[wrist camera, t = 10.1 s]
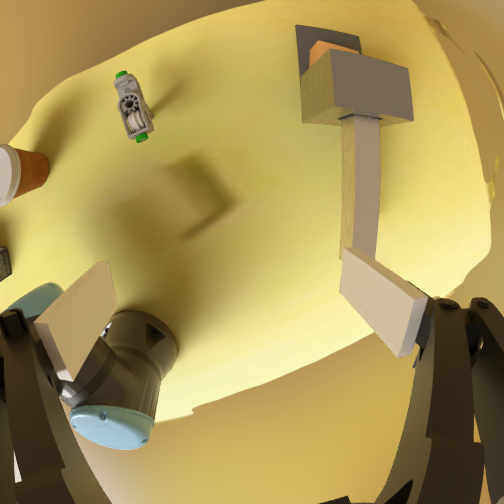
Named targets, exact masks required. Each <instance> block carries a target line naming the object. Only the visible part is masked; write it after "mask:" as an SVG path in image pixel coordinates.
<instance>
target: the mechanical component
mask: <svg viewBox="0 0 504 504" xmlns="http://www.w3.org/2000/svg"><path fill="white" fill-rule="evenodd" d="M114 85H115V87H116V88H117V91H118V95H119V98H120V100H119V101H118V110H119V112H120V113H121V116H122V119H123V123H124V126H125V129H126V132H127V135H128V138H129V139H136V142H137V143H139V142H142V141H145V140H147V139H148V135H147V133H149V132H151V131H153V130H154V128H153V124H152V121H151V120H152V119H153V114H152V113H151V112H150V111H149V107H148V105H147V104H146V103H145V101H144V97H143V94H142V91H141V88H140V85H139V83H138V81H137V79H136V78H135V77H134V76H133V75H132V74H128V73H127V71H122V72H119V73H118V74H117V75H116V80H115V81H114ZM126 119H127V120H128V124H129V126H130V128H131V130H132V132H131V130H130V129H129V127H128V124H127V120H126Z"/></svg>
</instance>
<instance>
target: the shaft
mask: <svg viewBox="0 0 504 504" xmlns="http://www.w3.org/2000/svg"><path fill="white" fill-rule="evenodd" d="M341 131H342V215H341V236H340V252H339V258H340V259H341V260H342V258H343V248H344V247H356V248H358V249H359V250H361V251H362V252H364V253H365V254H367V255H368V256H370V257H372V258H373V259H375V252H376V242H377V231H378V217H379V199H380V131H379V118H378V117H372V116H366V115H360V114H353V113H351V114H348V115H345V116H343V117H341Z"/></svg>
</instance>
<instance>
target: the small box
mask: <svg viewBox="0 0 504 504" xmlns="http://www.w3.org/2000/svg"><path fill="white" fill-rule="evenodd" d="M11 274H12V272H11V267H10V261H9V255H8V249H7V247H0V282H1V281H2V280H4V279H5V278H7V277H8V276H9V275H11Z"/></svg>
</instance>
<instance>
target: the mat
mask: <svg viewBox="0 0 504 504" xmlns="http://www.w3.org/2000/svg"><path fill="white" fill-rule="evenodd" d="M296 36H297V46H298V58H299V71H300V83H301V76H302V75H303V74H304V73H305V72H306V71H307V70H308V69H309V57H310V49H311V48H312V47H313V46H314V45H315V43H316V42H317V41H318V40H319V41H323V42H327V43H331V44H335V45H338V46H342V47H345V48H349V49H352V50H355V51H358V52H359V54H360V55H362V54H361V47H360V41H359V37H358V36H354V35H350V34H346V33H342V32H337V31H332V30H327V29H321V28H315V27H309V26H302V25H296Z"/></svg>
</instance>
